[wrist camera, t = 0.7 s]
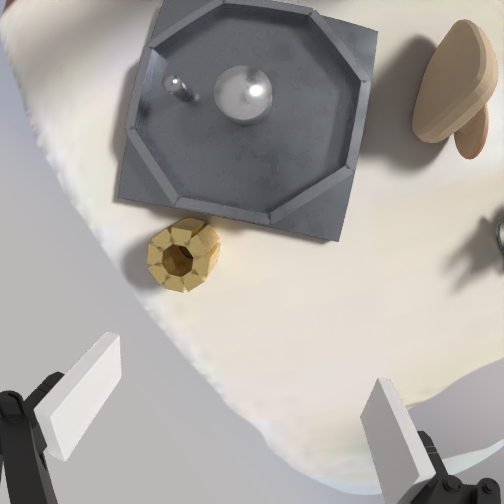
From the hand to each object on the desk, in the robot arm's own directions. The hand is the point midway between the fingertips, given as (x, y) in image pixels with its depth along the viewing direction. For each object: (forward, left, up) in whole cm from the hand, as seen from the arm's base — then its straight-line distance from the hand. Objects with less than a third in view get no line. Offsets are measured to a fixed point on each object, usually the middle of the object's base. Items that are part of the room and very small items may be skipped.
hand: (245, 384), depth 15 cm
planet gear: (0, -8, -21) cm, 22 cm away
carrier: (-16, -5, -21) cm, 27 cm away
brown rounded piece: (-24, +17, -21) cm, 37 cm away
